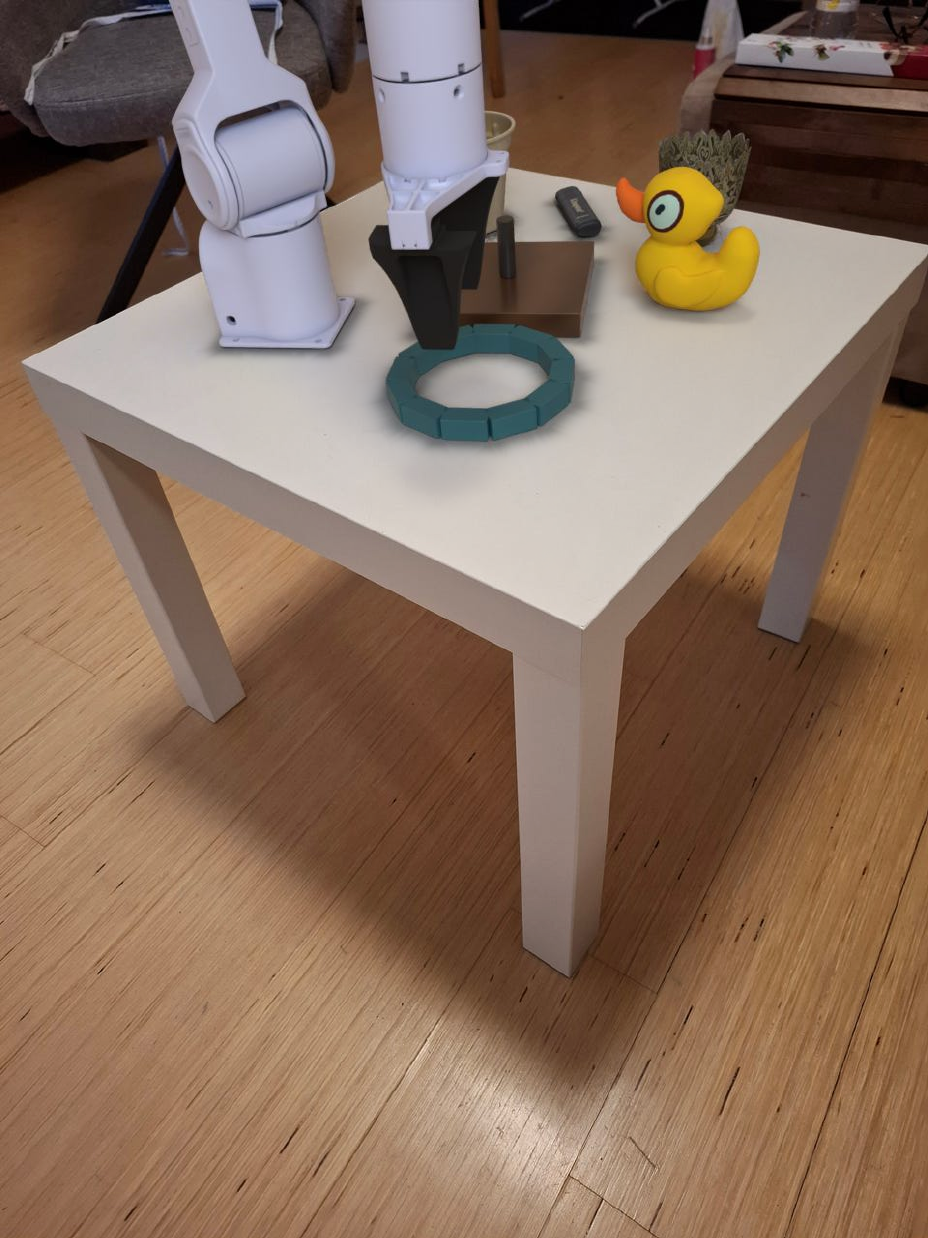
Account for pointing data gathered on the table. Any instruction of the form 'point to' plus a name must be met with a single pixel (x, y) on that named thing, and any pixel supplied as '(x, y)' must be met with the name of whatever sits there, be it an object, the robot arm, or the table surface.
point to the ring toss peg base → (531, 284)
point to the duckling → (687, 242)
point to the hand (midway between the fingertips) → (451, 315)
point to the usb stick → (578, 211)
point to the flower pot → (498, 140)
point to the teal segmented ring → (483, 420)
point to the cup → (710, 166)
